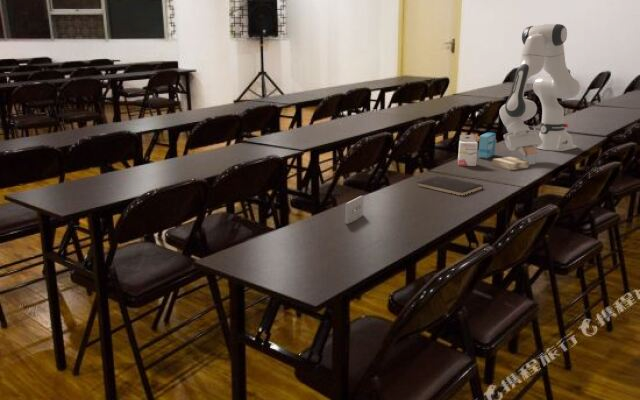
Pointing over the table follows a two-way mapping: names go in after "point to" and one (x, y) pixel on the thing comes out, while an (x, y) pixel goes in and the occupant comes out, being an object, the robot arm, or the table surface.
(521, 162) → the birch stand
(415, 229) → the table surface
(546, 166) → the table surface
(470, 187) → the hardcover book
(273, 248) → the table surface
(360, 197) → the cassette
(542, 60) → the robot arm
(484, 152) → the data package
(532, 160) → the block
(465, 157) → the ink cartridge box
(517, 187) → the table surface
